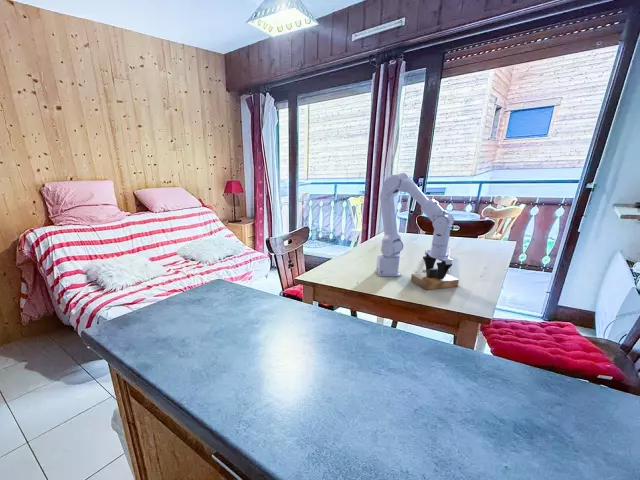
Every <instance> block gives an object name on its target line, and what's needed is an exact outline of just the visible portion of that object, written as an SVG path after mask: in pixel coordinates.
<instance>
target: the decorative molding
mask: <svg viewBox="0 0 640 480" xmlns="http://www.w3.org/2000/svg"><path fill="white" fill-rule="evenodd" d="M446 254H448V257H449V258H450V259H451V249H450V246H448V247H447V253H446ZM439 262H442V261H440V260H438V259H436V261H435V264H434V267H433V268H438V266H437V263H439ZM450 271H451V267H450V268H449V269H448V271H447V273H446V274H448V275H450V273H451V272H450ZM422 273H427V272H426V265H425V262H424V264H423V267H422Z"/></svg>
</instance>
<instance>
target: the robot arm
mask: <svg viewBox="0 0 640 480" xmlns="http://www.w3.org/2000/svg"><path fill="white" fill-rule="evenodd" d="M399 192H402V193H407V194H408V195H409V196H410V197H411V198H412V199H413V200H414V201H416V202H417V204H419V205H420V211H422V213H423V214H424V215H425V216H426V217H427V218H428V219H429V220H430V221H431V222H432V227H433V233H432V240H431V248H430V249H425V250H424V255H425V256H422V260H423V261H424V263H425V265H426V272H427V269H430V268H433V267H434V264H435V261H436V259H438V260H440V261H442V262H439V263H437V266H438V279H444V276H445V274H446V273H447V271H448V269H449V268H450V269H451V267H452V266H453V259H452V258H451V257H450V258H449V257H448V254H446V253H447V247H449V240H450V236H451V228H452V227H451V226H453V225H454V223H455V218H454V216H453V214H452V213H450V212H448V211H447V210H446V209H445V210H444V209H443V208H442V207H441V206H440V205H439V204H440V202H439V201H438V200H435V199H429V198H428V197H427V196H426V194H425V193H424V192H423V191H422V190H421V189H420V188H419V187H418V185H417V184H416V183H415V182H414V180H413V179H412V178H411V177H409V175H408V174H407V173H404V172H400V173H397V174H390V175H388V176H387V177H386V178H385V180H383V182H382V189H381V191H380V194H379V199H380V208H381V209H380V210H381V216H382V226H383V233H384V236H383V237H382V240H381V246H380V253H381V255H377V256H376V257H377V258H376V265H375V266H376V267H375V273H376V274H377V275H378V276H379V277H401V273H400V272H399V268H400V259H401V251H403V250H404V243H403V241H402V237H401V235H400V234H399V233H398V225H397V216H396V207H395V206H396V205H395V197H396V196H397V194H398V193H399Z"/></svg>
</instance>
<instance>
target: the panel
mask: <svg viewBox="0 0 640 480" xmlns="http://www.w3.org/2000/svg"><path fill="white" fill-rule="evenodd" d="M426 276H427V273H424V272H419V273H418V272H417V273H412V274H411V276H410V281H411V282H412V283H414V284H416V285H418V286H419V287H420V288H421V289H424V290H427V291H429V290H438V289H446V288H455V287H459V284H460V283H459V281H460V279H458V278H457V277H454V276H452V275H448V274H445V276H444V279H438V277H433V278H428V277H426Z"/></svg>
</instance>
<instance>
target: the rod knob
mask: <svg viewBox="0 0 640 480" xmlns="http://www.w3.org/2000/svg"><path fill="white" fill-rule="evenodd" d="M426 277H428V278H433V277H438V268H430V269H427V276H426Z"/></svg>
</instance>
